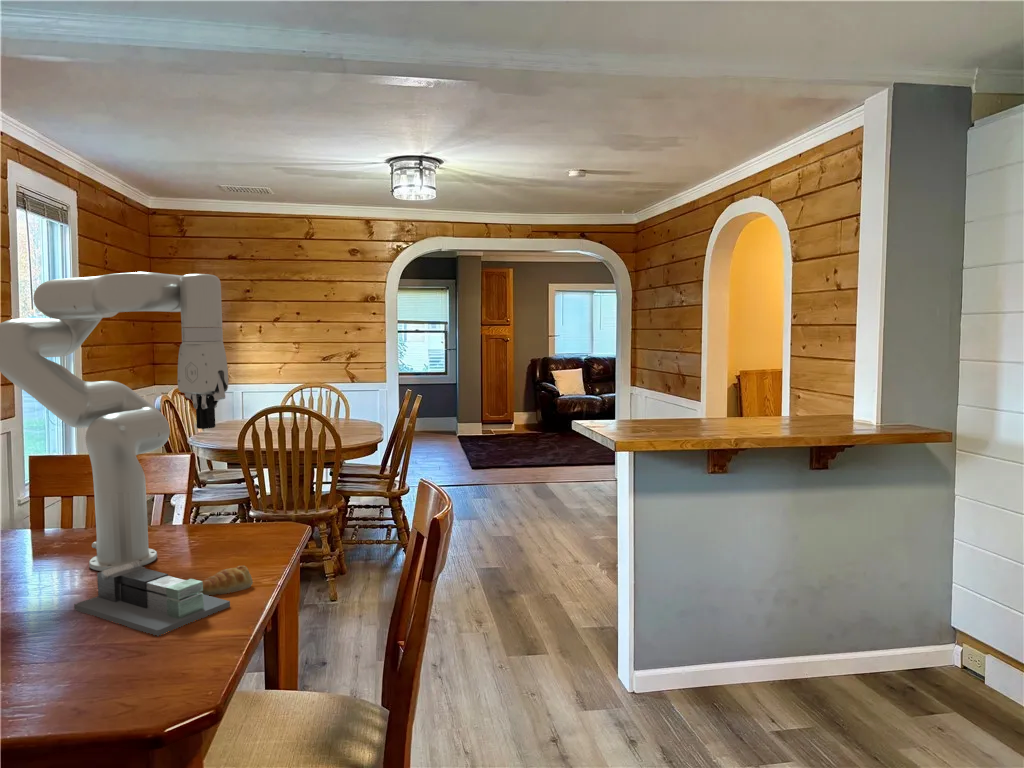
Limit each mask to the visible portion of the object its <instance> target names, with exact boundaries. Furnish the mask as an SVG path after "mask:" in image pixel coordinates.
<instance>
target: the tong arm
mask: <svg viewBox="0 0 1024 768" xmlns="http://www.w3.org/2000/svg"><path fill="white" fill-rule="evenodd" d="M203 581H204V580H198V579H194V578H188V579H182V578H178V577H174V576H171V575H169V574H168V573H164V572H160V571H157V570H152V569H149V568H146V569H145V568H142V569H139V570H135V571H132V572H129V573H126V574H123V575H120V583H122V584H126V585H129V586H133V587H137V588H141V589H144V590H146V589H147V590H151V591H154V592H158V593H162V594H166V595H167V597H170V598H173V599H177V600H179V599H182V598H184V597H187V596H190V595H192V594H195V593H198V592H200V591H203Z"/></svg>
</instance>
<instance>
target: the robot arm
mask: <svg viewBox="0 0 1024 768" xmlns="http://www.w3.org/2000/svg"><path fill="white" fill-rule="evenodd" d="M32 297H33V302H34V303H33V304H34V306H35V308H36V309H37V311H38V312H40V313H41V314H43V315H44V316H46V317H47V318H40V317H39V318H35V317H33V318H30V317H28V318H27V317H26V318H12V319H8V320H5V321H2V322H0V373H1V375H2V376H4V377H5V378H6V379H7V380H8V381H9V382H11V383H12V384H14V385H15V386H16V387H18V388H20V389H21V390H22V391H24V392H25V393H27V394H28V395H30V396H31V397H32V398H34V400H36V401H37V402H38V403H39V404H40V405H42V406H43V407H44V408H45V409H47V410H48V411H50V412H51V413H52V414H53V415H55V416H56V417H57V418H58V419H59V420H61V421H62V422H63V423H65V424H66V425H67V426H68V427H69V426H70V427H71V428H76V429H78V428H79V429H84V428H87V429H86V432H85V437H84V438H85V444H86V449H87V453H88V455H89V460H90V464H91V471H92V478H93V479H92V480H93V493H94V509H95V510H94V513H95V531H96V533H95V534H96V540H95V541H94V542H92V543H91V547H92V549H96V555H95V556H93V557H92V558H91V559H89V561H88V564H89V565H88V566H89V568H90V569H92V570H94V571H99V572H102V571H103V570H107V569H110V568H113V567H116V566H120V565H123V564H126V563H130V562H133V561H136V560H139V561H140V563H141V566H142V567H144V566H146V565H149V564H151V563H152V562H153V563H154V562H155V561H156V560H157V558H158V551H156V550H155V549H154V548H149V532H148V531H149V529H148V528H149V527H148V506H147V488H146V485H147V484H146V475H145V472H144V470H143V466H142V465H141V463H140V461H139V459H138V457H137V456H138V455H141V454H146V453H150V452H153V451H155V450H159V449H161V448H162V447H163V446H164V445H165V444H166V443H167V442H168V440H169V438H170V434H171V428H170V424H169V422H168V420H167V418H166V417H165V415H164V414H163V413H162V412H161V411H160V410H159V409H158V408H156V407H155V406H154V405H153V404H151V403H150V402H149V401H148V400H146V399H145V398H143V397H142V396H141V395H140V394H138V393H137V392H136V391H134V390H133V389H132V388H130V387H129V386H127V385H125V384H124V383H121V382H119V381H115V380H114V381H113V380H100V381H85V380H84V379H81V378H80V377H79V376H76V375H75V374H73V373H72V372H71V371H70V370H68V368H66V367H65V366H63V365H61V364H59V363H57V362H54V361H53V360H50V359H47V358H58V357H66V356H68V355H71V354H73V353H74V352H76V351H77V350H78V349H79V347H81V345H83V343H84V342H85V341H86V339H88V337H89V335H90V334H91V333H92V332H93V331H94V329H95V328H96V327H97V326H98V324H99V323H100V322H101V321H102V319H103V318H112V317H114V316H116V315H117V314H119V313H125V312H126V313H128V312H129V313H131V312H165V313H167V312H168V313H169V312H170V313H180V319H181V322H180V323H181V324H180V326H181V343H180V345H179V349H178V359H177V389H178V391H179V392H180V393H183V394H184V397H185V398H186V399H189V400H191V401H192V403H193V408H194V409H195V420H196V421H195V422H196V429H199V430H200V429H201V430H205V429H206V430H207V429H208V430H209V429H213V428H215V427H216V409H217V406H218V403H219V402H220V401H222V400H225V399H226V392H227V391H228V389H229V368H228V360H227V354H226V353H227V352H226V348H225V344H224V338H223V335H224V334H223V332H224V331H223V311H222V310H223V309H222V307H223V306H222V283H221V280H220V278H219V277H218V276H216V275H214V274H208V273H188V274H184V275H178V274H169V273H162V272H161V273H160V272H149V271H148V272H147V271H137V272H136V271H135V272H134V271H133V272H120V273H109V274H103V275H96V276H84V277H83V276H82V277H81V276H80V277H79V276H78V277H66V278H55V279H51V280H46V281H44V282H43V283H40V285H38V287H36V289H35V290H34V293H33V296H32Z"/></svg>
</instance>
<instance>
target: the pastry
mask: <svg viewBox="0 0 1024 768" xmlns="http://www.w3.org/2000/svg"><path fill="white" fill-rule="evenodd" d="M202 581H203V591H200V593H203V594H204V595H208V596H209V595H212V596H217V595H216V594H219V595H225V594H227V593H228V594H230V592H231V593H234V592H235V593H236V592H238V591H243V590H247V589H250V588H251V587H252V585H253V583H254V582H253V578H252V574H251V573H250V570H249V568H248V567H247V566H246V565H237V566H236V567H230V568H229V567H228V568H226V569H221V570H220V571H218V572H216V573H215V574H213V575H211V576H208V577H207V578H205V579H204V580H202Z"/></svg>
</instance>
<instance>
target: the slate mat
mask: <svg viewBox="0 0 1024 768" xmlns="http://www.w3.org/2000/svg"><path fill="white" fill-rule="evenodd" d="M203 602H204V609H203V610H200V611H198V612H195V613H193V614H190V615H188V616H185V617H183V618H180V619H177V618H174V617H170V616H167V614H165V613H162V612H158V611H155V610H152V609H148V608H142V607H139V606H136V605H132V604H129V603H125V602H122V601H121V600H120V601H118V602H113V601H109V600H106V599H103V598H99V597H98V596H95V597H92V598H89V599H85V600H83V601H80V602H77V603H74V606H73V608H74V611H76V612H77V611H78V612H81V613H84V614H86V613H87V614H86V615H89V614H90V616H92V615H94V616H93V617H95V616H97V617H96V618H98V617H100V618H99V619H102V618H103V619H102V620H105V619H106V620H105V621H108V620H109V621H108V622H111V621H113V622H112V623H114V622H115V624H117V623H119V624H118V625H120V624H122V625H121V626H123V625H125V626H124V627H126V626H127V628H130V629H133V630H136V631H139V632H142V631H143V633H145V632H146V634H148V633H150V634H149V635H151V634H153V635H152V636H155V635H157V636H156V637H160V636H162V635H161V634H163V635H165V634H167V633H166V632H168V631H170V632H172V631H174V630H173V629H175V630H177V629H179V628H178V627H180V628H182V627H184V626H183V625H185V624H187V625H189V624H191V623H190V622H192V623H194V622H196V621H195V620H197V621H199V620H202V619H204V618H206V617H209V616H211V615H214V614H216V613H219V612H221V611H223V610H226V609H228V608H230V607H231V602H230V600H226V599H223V598H219V597H215V596H213V595H212V596H208V595H204V594H203ZM218 611H219V612H218ZM213 613H214V614H213ZM208 615H209V616H208ZM201 618H202V619H201ZM198 619H199V620H198ZM193 621H194V622H193ZM188 623H189V624H188ZM181 626H182V627H181ZM185 626H186V625H185ZM176 628H177V629H176ZM171 630H172V631H171ZM164 633H165V634H164ZM168 633H169V632H168ZM159 635H160V636H159Z"/></svg>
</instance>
